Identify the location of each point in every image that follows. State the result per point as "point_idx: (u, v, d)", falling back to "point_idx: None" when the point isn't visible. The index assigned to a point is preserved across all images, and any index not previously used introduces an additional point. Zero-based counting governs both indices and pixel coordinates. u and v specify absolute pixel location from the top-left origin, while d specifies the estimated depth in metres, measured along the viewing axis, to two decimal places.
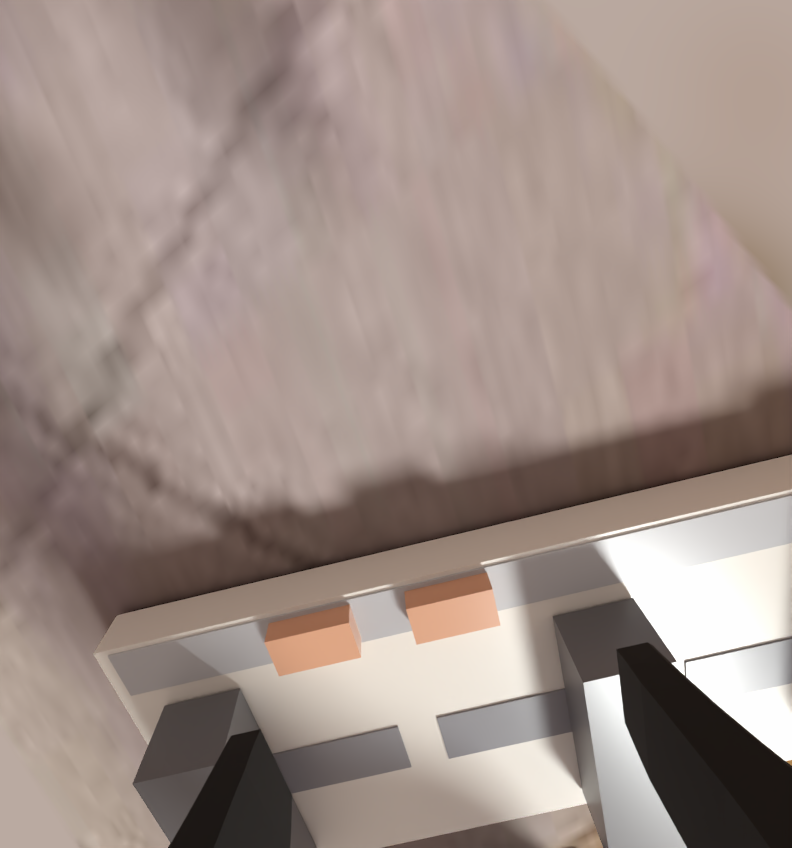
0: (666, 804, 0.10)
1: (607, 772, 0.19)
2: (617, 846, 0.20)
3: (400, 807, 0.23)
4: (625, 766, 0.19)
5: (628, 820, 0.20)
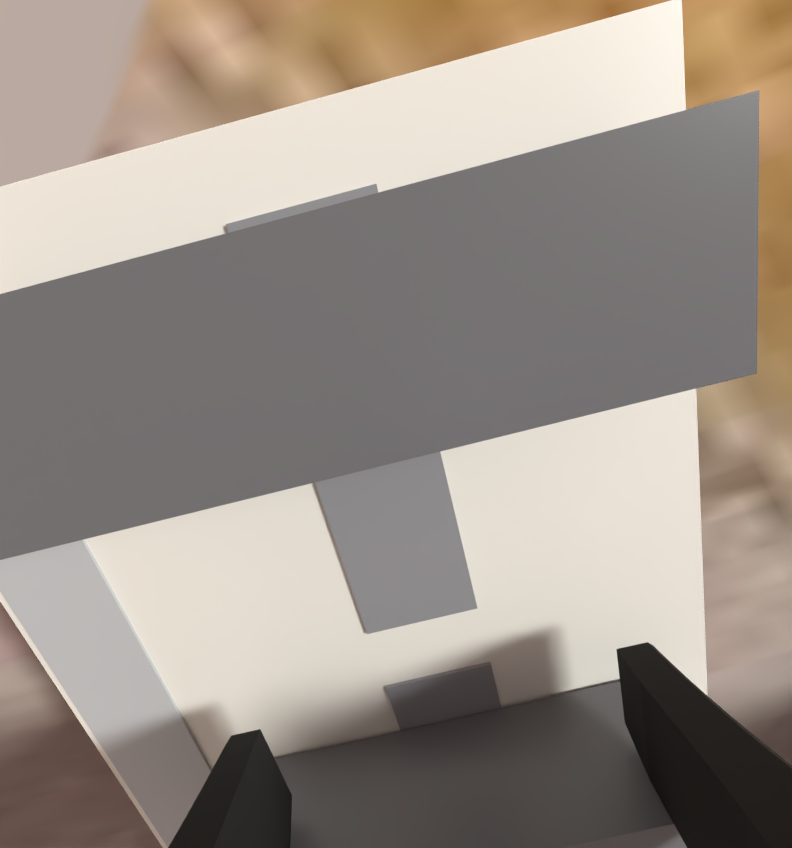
0: (666, 804, 0.10)
1: None
2: None
3: None
4: None
5: None
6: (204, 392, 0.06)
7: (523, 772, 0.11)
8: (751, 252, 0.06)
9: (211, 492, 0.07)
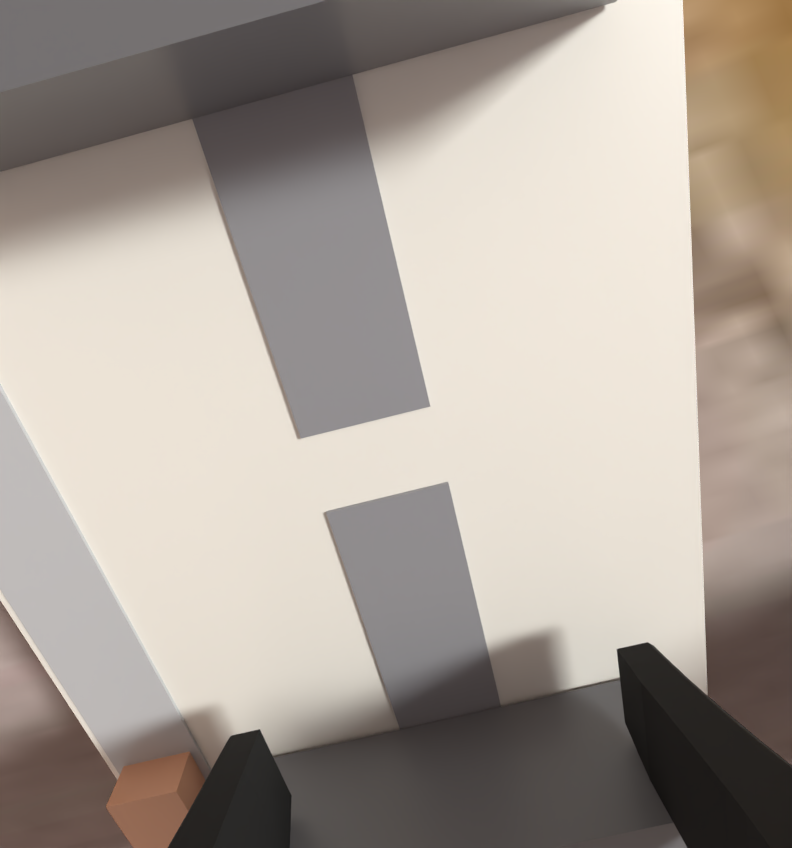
0: (666, 804, 0.10)
1: None
2: None
3: None
4: None
5: None
6: None
7: (523, 771, 0.11)
8: None
9: (28, 57, 0.05)
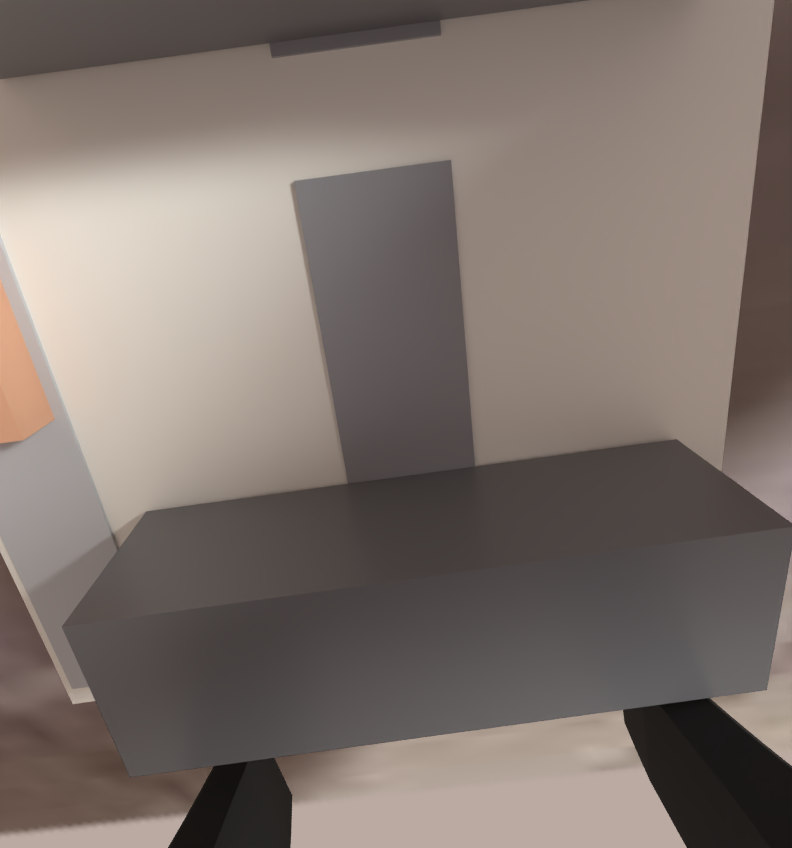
0: (666, 805, 0.10)
1: None
2: None
3: (605, 212, 0.09)
4: None
5: None
6: None
7: None
8: None
9: None
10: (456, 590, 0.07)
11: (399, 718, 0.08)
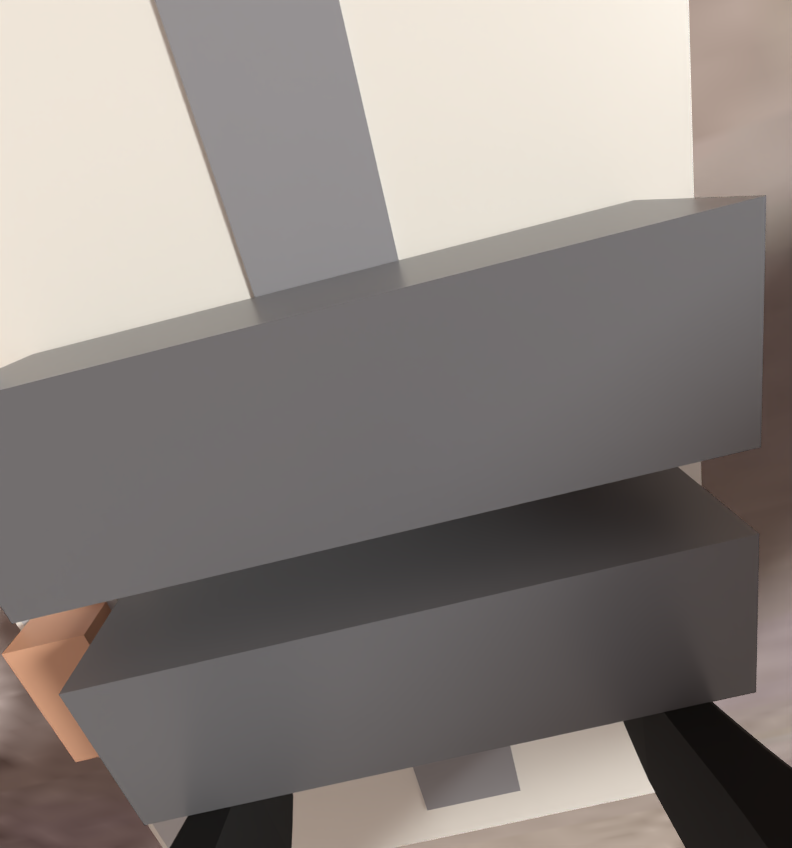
0: (665, 805, 0.10)
1: (324, 525, 0.07)
2: (652, 448, 0.07)
3: None
4: (299, 485, 0.07)
5: (537, 437, 0.07)
6: None
7: (411, 268, 0.07)
8: None
9: None
10: (428, 626, 0.08)
11: (392, 750, 0.08)
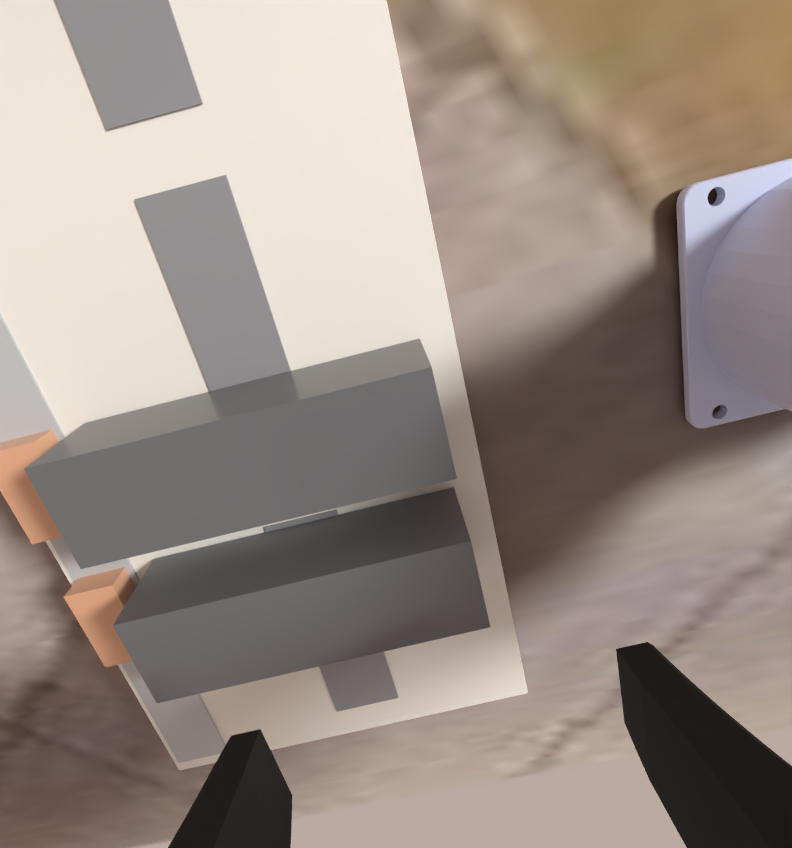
0: (666, 804, 0.10)
1: (239, 518, 0.14)
2: (401, 479, 0.13)
3: None
4: (225, 498, 0.13)
5: (342, 474, 0.13)
6: None
7: (285, 386, 0.14)
8: None
9: None
10: (305, 589, 0.15)
11: (292, 659, 0.15)
